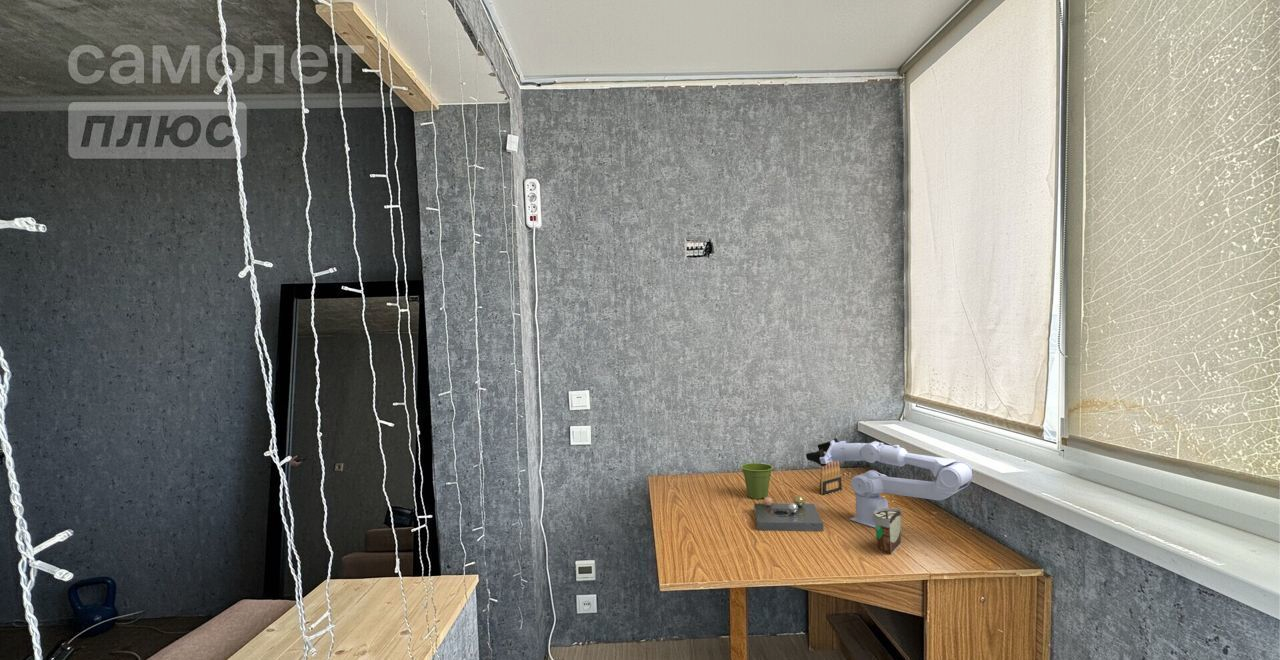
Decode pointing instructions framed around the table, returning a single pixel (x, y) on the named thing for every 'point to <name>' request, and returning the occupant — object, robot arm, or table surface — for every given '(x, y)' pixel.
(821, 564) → the table surface
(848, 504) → the table surface
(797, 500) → the brass ball
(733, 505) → the table surface
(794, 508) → the steel ball
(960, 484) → the robot arm
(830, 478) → the ammunition clip
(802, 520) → the hole plate
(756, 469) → the plant pot
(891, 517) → the food container
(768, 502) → the terracotta ball
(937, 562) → the table surface
